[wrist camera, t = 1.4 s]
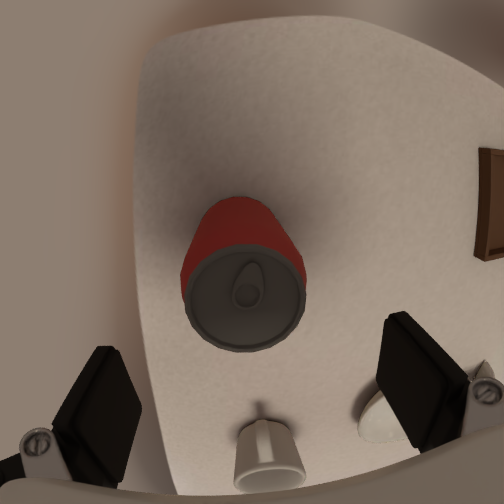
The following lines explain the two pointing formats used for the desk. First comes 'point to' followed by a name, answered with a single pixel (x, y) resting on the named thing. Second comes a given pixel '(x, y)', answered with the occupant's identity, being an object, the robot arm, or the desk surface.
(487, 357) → the desk surface
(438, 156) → the desk surface
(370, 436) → the spoon rest
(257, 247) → the beer can
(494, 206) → the tray
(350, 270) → the desk surface
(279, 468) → the cup
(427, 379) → the robot arm
